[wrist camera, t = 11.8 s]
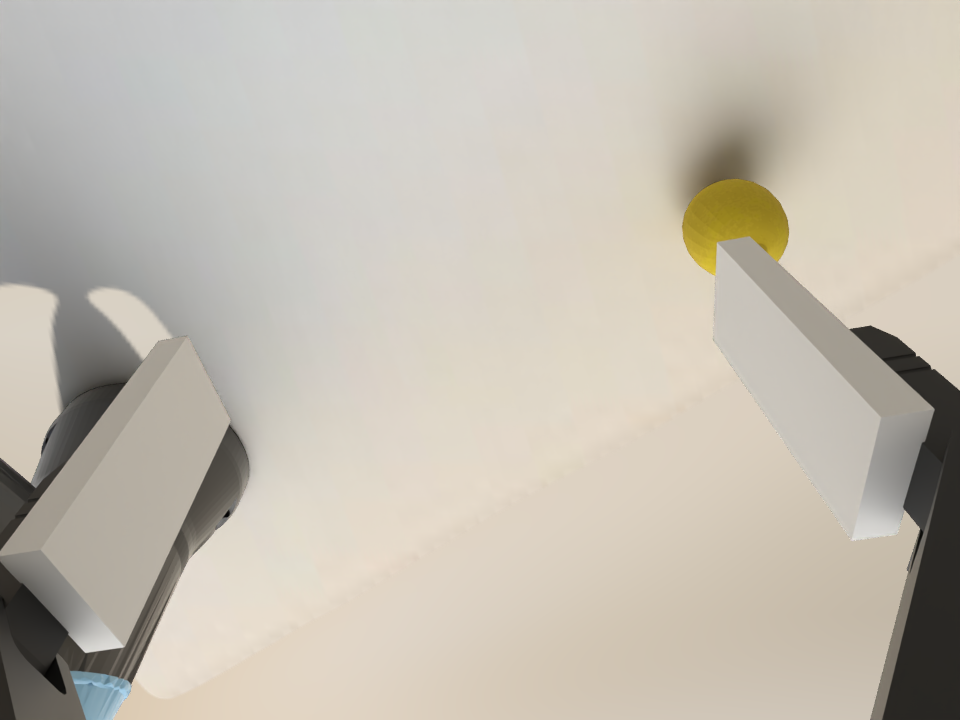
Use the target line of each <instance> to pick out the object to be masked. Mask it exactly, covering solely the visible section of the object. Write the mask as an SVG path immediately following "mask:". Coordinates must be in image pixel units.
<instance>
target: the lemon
mask: <svg viewBox="0 0 960 720" xmlns="http://www.w3.org/2000/svg"><path fill="white" fill-rule="evenodd" d="M682 229H683V239H684V242H685V245H686V247H687V250H688V252H689V254H690V255H691V257H692V258H693V259H694V260H695V261H696V263H697V264H698V265H699V266H700V267H702V268H703V269H705V270H706V271H708V272H709V273H711V274H712V275H715V276H716V254H717V242H721V241H726V240H732V239H738V238H743V237H749V236H750V237H751V238H752V239H753V240H754V241H755V242H756V243H757V244H758V245H759V246H760V247H762V248H763V249H764V250H765V251H766V252H767V253H768V254H769V255H770V256H771V257H772V258H773V259H774V260H775V261H777V262H778V260H779V259H780V258H781V256H782V255H783V253H784V251H785V248H786V246H787V243H788V237H789V227H788V220H787V217H786V214H785V212H784V210H783V208H782V206H781V204H780V202H779V201H778V200H777V199H776V198H775V197H774V196H773V195H772V194H771V193H770V192H769V191H768V190H767V189H766V188H764V187H762V186H760V185H758V184H756V183H754V182H751V181H747V180H742V179H727V180H722V181H719V182H716V183H713V184H711V185H709V186H707V187H706V188H704V189H703V190H702V191H700V192H699V193H698V194H697V195H696V196H695V197H694V198H693V200H692V201H691V202H690V204H689V206H688V208H687V210H686V212H685V215H684V219H683V225H682Z"/></svg>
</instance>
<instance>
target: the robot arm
mask: <svg viewBox="0 0 960 720" xmlns="http://www.w3.org/2000/svg"><path fill="white" fill-rule="evenodd" d="M713 340H714V342H715V343H716V345H717V346H718V348H719V349H720V351H721V352H722V353H723V355H724V356H725V358H726V359H727V361H728V362H729V364H730V365H731V367H732V368H733V369H734V371H735V372H736V374H737V375H738V377H739V378H740V380H741V381H742V383H743V384H744V385H745V387H746V388H747V390H748V391H749V393H750V394H751V395H752V397H753V398H754V400H755V401H756V403H757V404H758V406H759V407H760V409H761V410H762V411H763V413H764V414H765V416H766V417H767V419H768V420H769V422H770V423H771V425H772V426H773V428H774V429H775V430H776V432H777V433H778V435H779V436H780V438H781V439H782V440H783V442H784V444H785V445H786V446H787V448H788V449H789V451H790V452H791V454H792V455H793V457H794V458H795V460H796V461H797V463H798V464H799V465H800V467H801V468H802V470H803V471H804V473H805V474H806V476H807V477H808V478H809V480H810V481H811V483H812V484H813V486H814V487H815V488H816V490H817V492H818V493H819V495H820V496H821V497H822V499H823V500H824V501H825V503H826V505H827V506H828V508H829V509H830V511H831V512H832V513H833V515H834V516H835V518H836V519H837V521H838V522H839V524H840V525H841V526H842V528H843V529H844V531H845V532H846V534H847V535H848V537H849V538H850V540H851V541H855V540H862V539H869V538H876V537H882V536H889V535H896V534H897V533H898V530H899V527H900V523H901V520H902V517H903V513H904V510H906V512H907V513H908V514H909V515H910V517H911V518H912V519H913V520H914V521H915V522H916V524H917V525H918V526H919V527H920V531H919V534H918V537H917V540H916V543H915V546H914V549H913V552H912V555H911V559H910V561H909V565H908V568H907V571H908V575H907V579H906V583H905V587H904V590H903V594H902V598H901V602H900V606H899V611H898V614H897V618H896V622H895V626H894V630H893V633H892V638H891V641H890V645H889V649H888V653H887V657H886V661H885V665H884V669H883V672H882V677H881V680H880V684H879V688H878V692H877V696H876V700H875V704H874V708H873V711H872V715H871V719H870V720H960V391H959V390H958V389H957V388H956V387H955V386H953V385H952V384H951V383H950V382H949V381H948V380H946V379H945V378H944V377H943V376H942V375H941V374H939V373H938V372H937V371H936V370H935V369H933V370H932V369H931V366H930V365H929V364H928V363H927V362H925V361H924V360H923V359H922V358H921V357H920V356H917V357H916V353H915V352H914V351H913V350H911V349H910V348H909V347H908V346H907V345H905V344H904V343H903V342H902V341H901V340H900V339H898V338H897V337H895V336H893V335H891V334H888V333H886V332H884V331H881V330H879V329H877V328H875V327H872V326H865V327H860V328H853V329H848V328H847V327H846V326H845V325H844V324H843V323H842V322H841V321H840V320H839V319H838V318H837V317H835V316H834V315H833V314H832V313H831V312H830V311H829V310H828V309H827V308H826V307H825V306H824V305H823V304H822V303H820V302H819V301H818V300H817V299H816V298H815V297H814V296H813V295H812V294H811V293H810V292H809V291H808V290H807V289H805V288H804V287H803V286H802V285H801V284H800V283H799V282H798V281H797V280H796V279H795V278H794V277H793V276H792V275H790V274H789V273H788V272H787V271H786V270H785V269H784V268H783V267H782V266H781V265H780V264H779V263H778V262H777V261H775V260H774V259H773V258H772V257H771V256H770V255H769V254H768V253H767V252H766V251H765V250H764V249H763V248H762V247H760V246H759V245H758V244H757V243H756V242H755V241H754V240H753V239H752V238H751V237H750V236H749V237H743V238H738V239H732V240H726V241H721V242H717V254H716V278H715V302H714V326H713ZM230 422H231V419H230V417H229V415H228V413H227V411H226V409H225V407H224V405H223V403H222V401H221V400H220V398H219V396H218V394H217V392H216V390H215V388H214V386H213V384H212V382H211V380H210V378H209V376H208V374H207V372H206V370H205V368H204V366H203V364H202V362H201V361H200V359H199V357H198V355H197V353H196V351H195V349H194V347H193V345H192V343H191V341H190V339H189V337H188V336H183V337H178V338H172V339H166V340H161V341H158V343H157V344H156V345H155V346H154V348H153V349H152V350H151V352H150V353H149V354H148V356H147V357H146V358H145V360H144V361H143V362H142V364H141V365H140V366H139V367H138V369H137V370H136V371H135V373H134V374H133V375H132V377H131V378H130V379H129V381H128V382H127V383H126V384H113V385H107V386H102V387H99V388H95V389H92V390H90V391H88V392H86V393H84V394H82V395H80V396H79V397H77V398H76V399H74V400H73V401H72V402H71V403H70V404H69V405H68V406H67V407H66V408H65V410H64V411H63V412H62V413H61V414H60V415H59V416H58V417H57V419H56V420H55V421H54V422H53V423H52V425H51V426H50V428H49V430H48V432H47V434H46V436H45V439H44V442H43V446H42V451H41V459H40V461H39V464H38V466H37V469H36V472H35V474H34V477H33V479H32V482H31V483H29V482H28V481H27V480H26V479H25V478H23V477H22V476H21V475H20V474H19V473H18V472H16V471H15V470H14V469H13V468H11V467H10V466H9V465H8V464H7V463H6V462H4V461H3V460H2V459H1V458H0V720H113V718H114V716H115V715H116V713H117V711H118V709H119V707H120V706H121V704H122V702H123V701H124V700H125V699H126V698H127V697H128V695H129V693H130V691H131V684H132V681H133V679H134V677H135V675H136V673H137V670H138V668H139V666H140V664H141V662H142V659H143V657H144V655H145V653H146V651H147V648H148V646H149V644H150V642H151V640H152V637H153V635H154V633H155V631H156V629H157V626H158V624H159V622H160V620H161V618H162V616H163V613H164V611H165V609H166V607H167V605H168V603H169V600H170V598H171V596H172V594H173V592H174V590H175V587H176V585H177V583H178V581H179V578H180V576H181V574H182V572H183V570H184V568H185V566H186V564H187V562H188V560H189V558H190V557H191V556H192V555H193V554H194V553H195V552H196V551H197V550H198V549H199V548H200V547H201V546H202V545H203V544H204V543H205V542H206V541H207V540H208V539H209V538H210V537H211V536H212V534H213V533H214V532H215V530H217V529H218V528H219V527H221V526H222V525H223V524H224V523H225V522H226V521H227V520H228V519H229V518H230V517H231V515H232V514H233V513H234V511H235V510H236V508H237V506H238V504H239V502H240V500H241V497H242V495H243V493H244V490H245V488H246V485H247V482H248V477H249V464H248V459H247V455H246V453H245V450H244V448H243V446H242V444H241V442H240V440H239V439H238V437H237V436H236V434H235V433H234V432H233V431H232V429H231V428H230V427H229V424H230Z"/></svg>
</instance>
